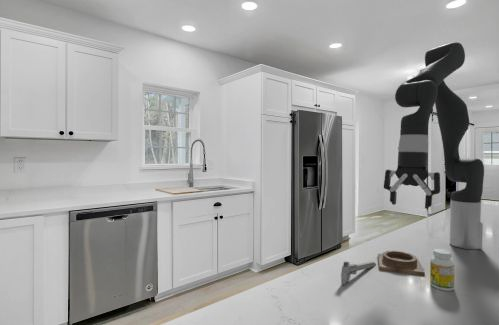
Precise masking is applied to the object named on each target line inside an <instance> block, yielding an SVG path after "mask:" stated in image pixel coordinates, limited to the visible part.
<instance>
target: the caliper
mask: <svg viewBox="0 0 499 325" xmlns="http://www.w3.org/2000/svg"><path fill="white" fill-rule="evenodd" d="M376 265H377V263H375V261H373V260H372V261H366V262H362V263H358V264H356V263H350V261H347V260H346V261H343V265H342V267H341V273H340V278H341V279H340V283H341V285H343V286H345V285H346V286H347V285H349V284H350V280H351V276H352V275H357V272H359V271H363V270H367V269H371V268H373V267H375V266H376ZM346 283H347V284H346ZM348 283H349V284H348Z"/></svg>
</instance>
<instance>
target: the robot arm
mask: <svg viewBox="0 0 499 325" xmlns="http://www.w3.org/2000/svg"><path fill="white" fill-rule="evenodd" d="M465 60H466V52H465V48H464V46H463V45H462V43H460V42H457V41H456V42H454V41H453V42H450V43H446V44H443V45H440V46H436V47H434V48H431V49H429V50H427V51H426V52H425V54H424V65H425V67H424V68H422V69H421V70H420V71H419V72H418V73H417V75H415V76H414V77H411V78H409V79H407V80H405V81H403V82H402V83H400V85H399V86H398V87H397V89H396V90H395V94H394V97H395V98H394V101H395V103H396V104H397V105H398V107H401V108H415V107H418V109H417V110H416V111H415V112H412V113H410V114H406V115H403V116H402V118H401V120H400V132H399V133H400V134H399V135H400V136H399V140H398V147H397V168H396V170H393V169H392V170H391V169H386V170H385V173H384V179H383V180H384V181H383V189H385V190H387V191H389V194H390V196H389V202H390V203H391V204H392V205H396V204H397V190H398V189H399V187H401V186H402V185H404V186H412V187H420V188H421V189H422V190H423V191H424V193H425V194H426V195H425V200H424V209H427V210H428V209H429V208H431V206H432V205H433V196H434V195H438V194H440V192H441V173H440V172H439V171H437V172H429V171H428V159H429V158H428V157H429V155H428V154H429V136H428V135H429V122H430V119H431V118H430V117H431V114H432V111H433V108H434V106H435V111H436V118H437V122H438V123H437V124H438V126H439V127H438V128H439V132H440V136H441V142H442V149H443V150H442V151H443V158H444V160H443V161H444V169H445V175H446V177H447V179H448V181H451V182H454V183H455V182H456V183H465V187H464V188H463V189H460V190H455V191H451V193H450V207H449V208H450V209H449V210H450V211H449V225H450V226H449V244H450V245H451V246H453V247H456V248H458V249H459V248H460V249H465V250H483V235H484V234H483V233H484V232H483V227H484V225H483V222H481V220H482V218H481V216H482V195H483V192H484V179H485V178H484V177H485V166H484V162H483V161H482V160H481V159H480V158H476V157H475V158H471V157H470V158H467V157H460V152H459V147H460V143H461V141H462V140H463V138H464V136H465V134H466V133H467V131H468V129H469V126H470V117H469V110H468V105H467V103H465V101H464V100H463V99H462V97H460V96H459V95H457V94H456V93H455V92H454V91H453V90H451V88H450V87H449V86H448V85H447V84H446V82H445V79H446V78H448V76H450V75H452V74H453V73H454V72H455V71H457V70H459V69H460V68H461V67H463V65H464V64H465ZM394 175H395V176H396V178H397V179H398V180H397V181H395V183H394V184H393V185H392V186H391V180H392V179H391V178H393V177H394ZM429 177H430V179H431V180H432V181H433V189H431V188H430V187H429V186H428V184H427V182H426V181H425V180H426V179H427V178H429Z"/></svg>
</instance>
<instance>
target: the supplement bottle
mask: <svg viewBox="0 0 499 325" xmlns="http://www.w3.org/2000/svg"><path fill="white" fill-rule="evenodd" d="M429 264H430V266H429V267H430V268H429V269H430V270H429V272H430V275H429V276H430V277H429V282H430V285H431V286H432V287H433V288H435V289H437V290H440V291H445V292H450V291H453V290H454V289H455V262H454V260H453V259H452V251H449V250H447V249H443V248H434V249H433V256H432V257H431V258H430V262H429Z"/></svg>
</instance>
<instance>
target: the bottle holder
mask: <svg viewBox="0 0 499 325" xmlns="http://www.w3.org/2000/svg"><path fill="white" fill-rule="evenodd" d="M377 261H378V266H379V267H378V268H379V271H387V272H393V273H400V274H401V273H402V274H410V275H415V276H416V275H417V276H422V277H423V276H425V273H426V272H425V270H424V268H423V266H422V264H421V262H420V260H419V258H418V257H417V256H416V255H414V254H412V253H410V252H405V251H401V250H385V251H383V252H382V253H377Z"/></svg>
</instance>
